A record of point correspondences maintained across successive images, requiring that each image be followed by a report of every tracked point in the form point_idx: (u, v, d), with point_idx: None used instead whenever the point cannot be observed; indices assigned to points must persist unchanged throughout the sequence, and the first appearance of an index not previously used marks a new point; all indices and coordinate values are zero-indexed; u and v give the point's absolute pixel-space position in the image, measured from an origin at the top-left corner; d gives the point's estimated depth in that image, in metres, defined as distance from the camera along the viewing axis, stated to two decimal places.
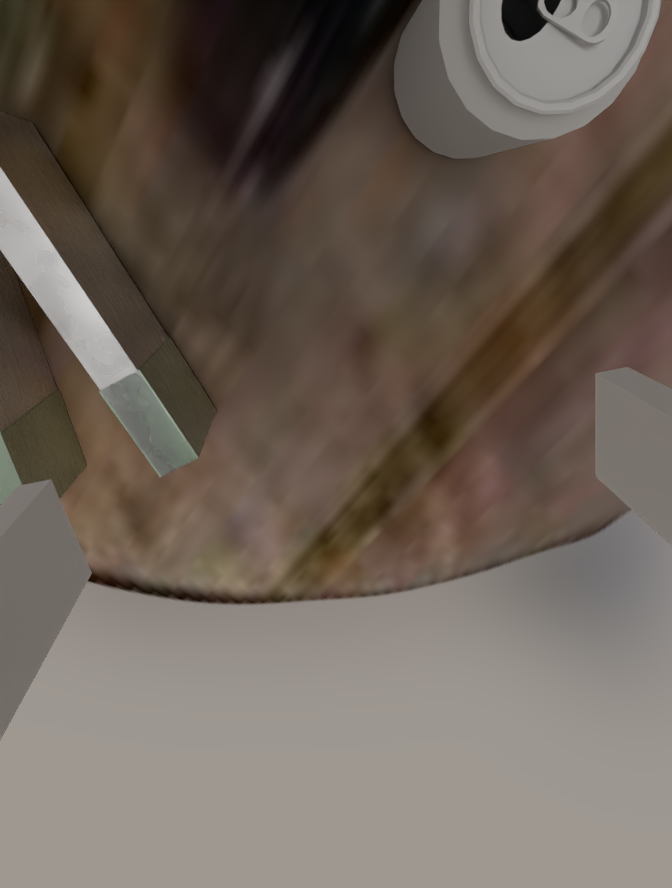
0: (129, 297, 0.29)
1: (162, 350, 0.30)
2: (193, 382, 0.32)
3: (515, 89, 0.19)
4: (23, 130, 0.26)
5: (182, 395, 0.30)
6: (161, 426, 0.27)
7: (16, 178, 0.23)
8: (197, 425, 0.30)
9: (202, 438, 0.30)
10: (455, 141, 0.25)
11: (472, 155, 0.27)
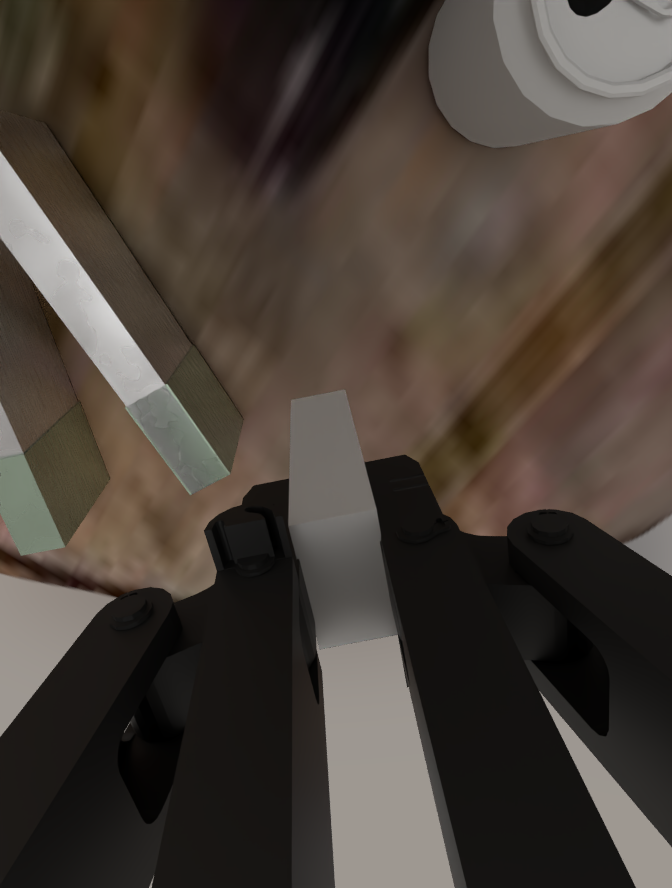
0: (152, 306, 0.28)
1: (187, 360, 0.29)
2: (219, 392, 0.31)
3: (581, 71, 0.17)
4: (37, 132, 0.25)
5: (210, 407, 0.28)
6: (191, 442, 0.26)
7: (33, 185, 0.22)
8: (226, 438, 0.28)
9: (232, 452, 0.28)
10: (500, 129, 0.23)
11: (515, 143, 0.26)
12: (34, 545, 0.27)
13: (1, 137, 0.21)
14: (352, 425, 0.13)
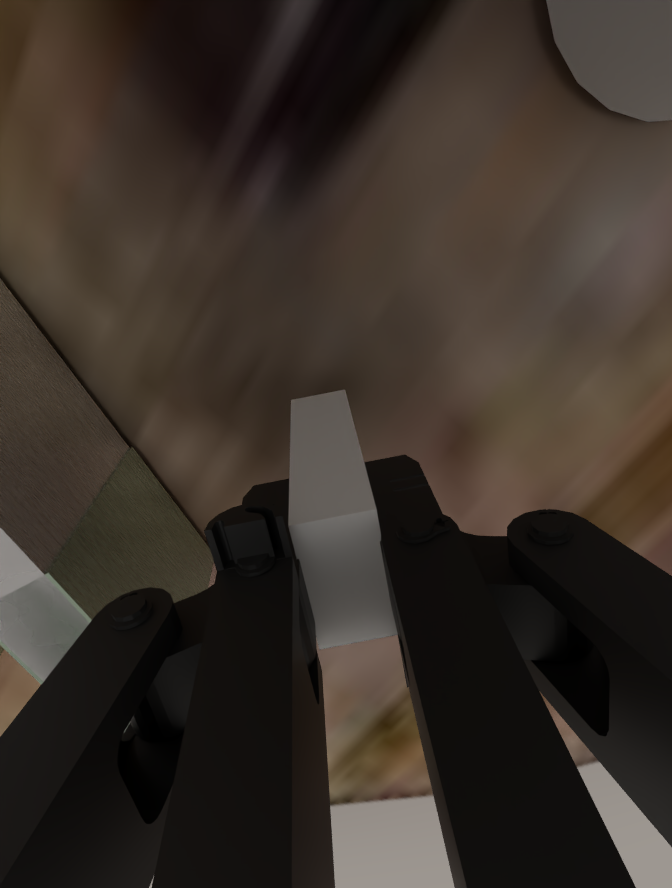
0: (47, 397, 0.16)
1: (113, 487, 0.17)
2: (173, 524, 0.19)
3: None
4: None
5: (150, 570, 0.16)
6: None
7: None
8: None
9: None
10: None
11: None
12: None
13: None
14: (352, 425, 0.13)
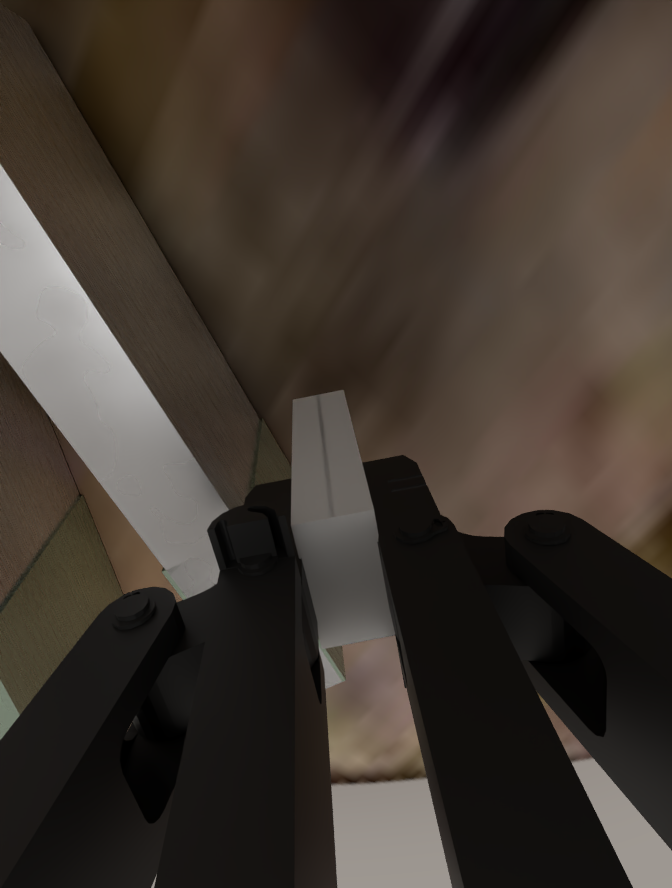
0: (206, 361, 0.16)
1: (262, 455, 0.17)
2: None
3: None
4: (9, 28, 0.13)
5: None
6: None
7: None
8: None
9: None
10: None
11: None
12: None
13: None
14: (350, 425, 0.13)
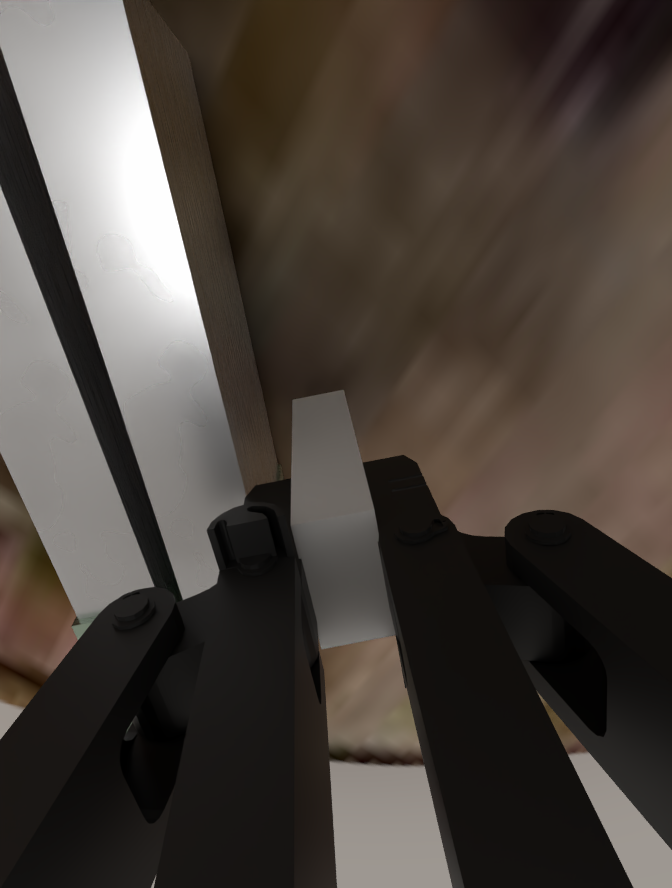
0: (257, 409, 0.17)
1: None
2: None
3: None
4: (182, 68, 0.13)
5: None
6: None
7: (175, 177, 0.10)
8: None
9: None
10: None
11: None
12: None
13: (148, 60, 0.10)
14: (350, 425, 0.13)
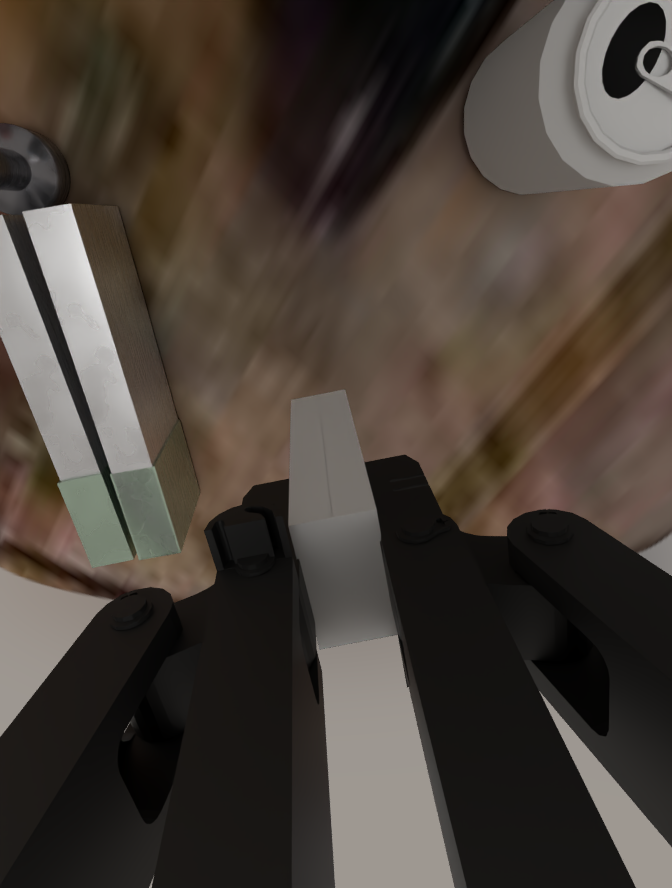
0: (157, 384, 0.31)
1: (172, 437, 0.32)
2: (188, 467, 0.34)
3: (615, 143, 0.20)
4: (111, 219, 0.28)
5: (179, 484, 0.32)
6: (157, 517, 0.29)
7: (100, 278, 0.25)
8: (185, 515, 0.32)
9: (186, 529, 0.32)
10: (534, 183, 0.26)
11: None
12: (105, 558, 0.30)
13: (87, 234, 0.25)
14: (352, 425, 0.13)
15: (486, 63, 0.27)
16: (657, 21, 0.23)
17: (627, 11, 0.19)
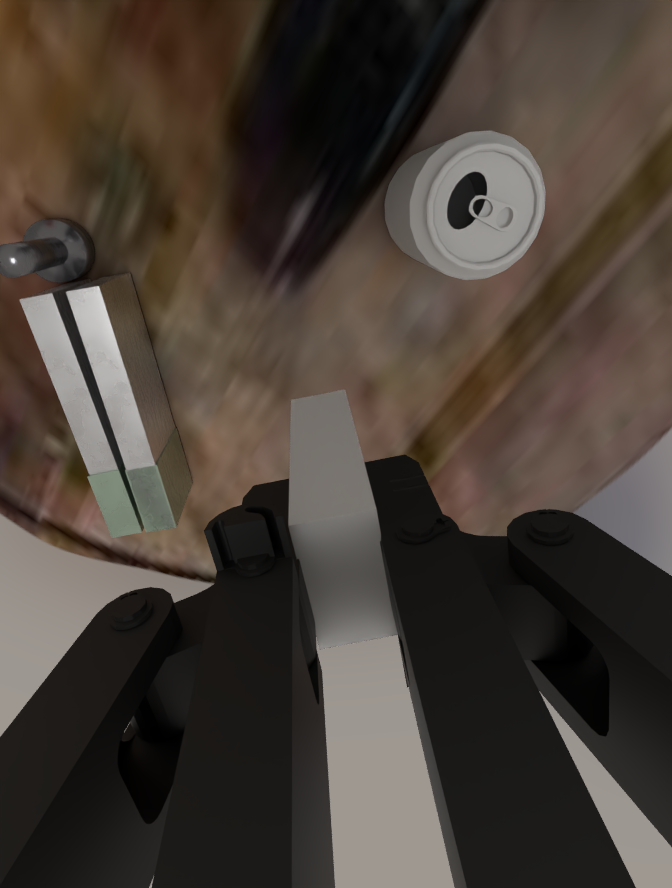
0: (159, 402, 0.42)
1: (170, 442, 0.43)
2: (183, 463, 0.45)
3: (457, 258, 0.30)
4: (125, 285, 0.39)
5: (175, 477, 0.43)
6: (158, 501, 0.40)
7: (118, 333, 0.36)
8: (179, 500, 0.43)
9: (180, 510, 0.42)
10: (427, 265, 0.36)
11: None
12: (121, 531, 0.41)
13: (110, 304, 0.35)
14: (352, 425, 0.13)
15: (397, 174, 0.37)
16: None
17: (460, 177, 0.29)
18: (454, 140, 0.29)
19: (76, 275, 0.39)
